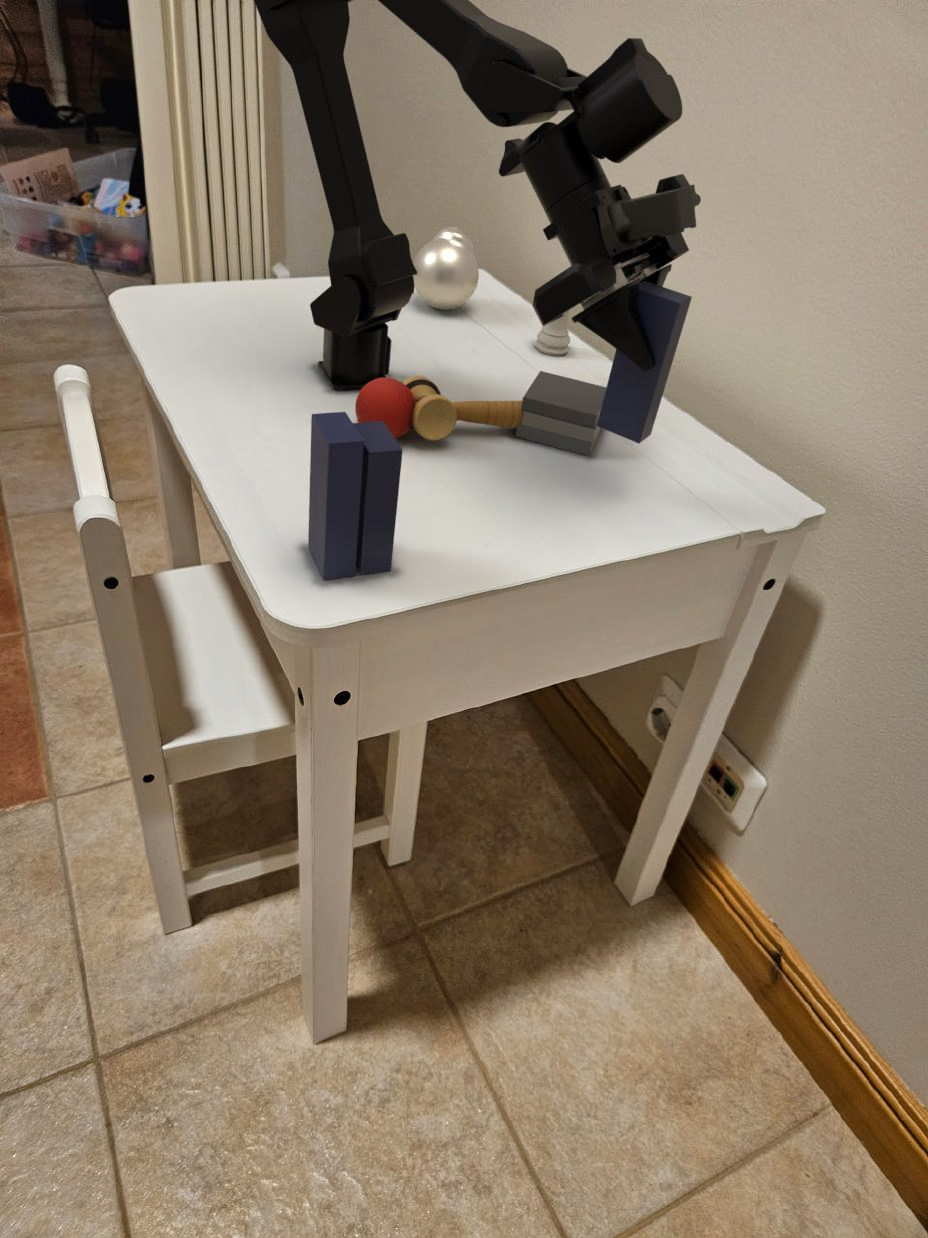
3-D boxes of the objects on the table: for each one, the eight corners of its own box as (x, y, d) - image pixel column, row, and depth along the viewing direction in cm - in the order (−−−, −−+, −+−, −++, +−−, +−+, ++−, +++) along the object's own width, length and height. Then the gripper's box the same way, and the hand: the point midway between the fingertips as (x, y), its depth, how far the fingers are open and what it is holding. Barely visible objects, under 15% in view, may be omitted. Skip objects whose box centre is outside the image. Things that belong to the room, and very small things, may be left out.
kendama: (499, 419, 98) (342, 407, 90) (518, 370, 93) (354, 353, 86) (522, 464, 93) (358, 455, 86) (544, 414, 89) (373, 400, 81)
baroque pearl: (489, 311, 120) (501, 235, 114) (443, 324, 114) (453, 244, 108) (441, 290, 125) (450, 215, 118) (394, 301, 118) (400, 223, 112)
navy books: (323, 580, 69) (328, 443, 61) (307, 548, 72) (311, 413, 65) (391, 571, 71) (404, 436, 64) (373, 540, 74) (383, 408, 67)
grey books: (515, 436, 92) (522, 397, 90) (533, 407, 99) (540, 369, 96) (589, 456, 91) (598, 417, 88) (602, 425, 97) (612, 387, 95)
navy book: (639, 444, 81) (680, 302, 73) (596, 426, 82) (631, 286, 74) (650, 435, 82) (692, 296, 74) (608, 417, 84) (644, 280, 76)
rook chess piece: (575, 354, 112) (589, 291, 108) (548, 358, 110) (561, 294, 105) (554, 340, 115) (566, 278, 110) (527, 344, 113) (538, 281, 108)
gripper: (600, 148, 63) (695, 349, 65) (699, 128, 75) (775, 297, 78) (491, 232, 70) (580, 409, 73) (597, 201, 83) (670, 352, 86)
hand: (657, 363), depth 77 cm, fingers closed on navy book, 3 cm apart
